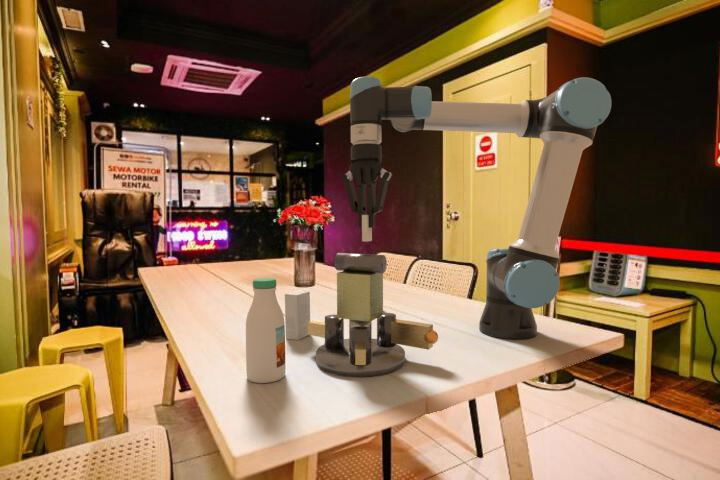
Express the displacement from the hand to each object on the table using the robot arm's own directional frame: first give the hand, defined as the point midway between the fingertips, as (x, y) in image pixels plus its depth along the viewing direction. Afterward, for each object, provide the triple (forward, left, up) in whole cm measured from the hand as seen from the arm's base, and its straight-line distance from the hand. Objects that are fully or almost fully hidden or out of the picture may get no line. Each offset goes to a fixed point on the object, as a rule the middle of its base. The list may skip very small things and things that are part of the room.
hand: (367, 241), depth 105 cm
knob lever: (-12, +5, -24) cm, 27 cm away
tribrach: (-1, +12, -26) cm, 29 cm away
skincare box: (+20, +2, -26) cm, 33 cm away
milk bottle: (+10, +28, -26) cm, 39 cm away
